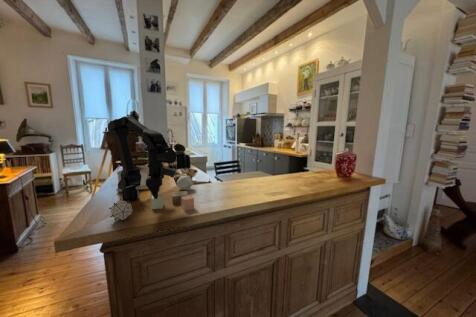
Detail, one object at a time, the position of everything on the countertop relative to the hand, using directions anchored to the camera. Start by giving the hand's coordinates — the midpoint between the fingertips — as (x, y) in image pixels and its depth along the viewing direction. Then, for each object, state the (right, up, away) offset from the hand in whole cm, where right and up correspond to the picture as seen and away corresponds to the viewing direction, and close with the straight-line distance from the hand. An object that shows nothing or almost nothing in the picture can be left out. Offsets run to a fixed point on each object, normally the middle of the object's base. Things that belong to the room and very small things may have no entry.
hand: (156, 195), depth 91 cm
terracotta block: (+14, -6, 0) cm, 15 cm away
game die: (-9, -8, -12) cm, 17 cm away
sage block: (0, -6, +1) cm, 6 cm away
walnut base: (+8, -5, +8) cm, 13 cm away
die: (+6, -2, +26) cm, 27 cm away
